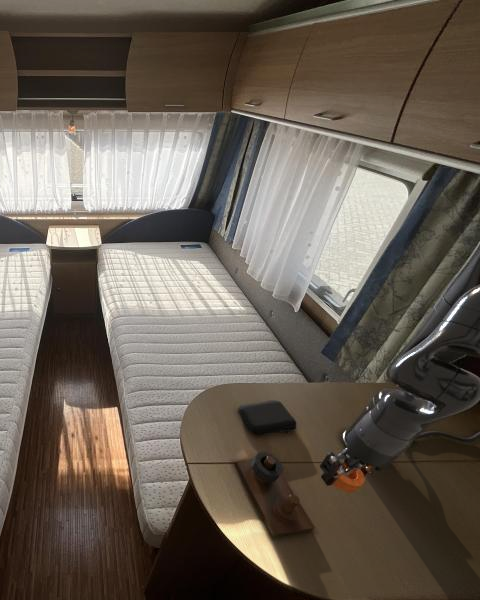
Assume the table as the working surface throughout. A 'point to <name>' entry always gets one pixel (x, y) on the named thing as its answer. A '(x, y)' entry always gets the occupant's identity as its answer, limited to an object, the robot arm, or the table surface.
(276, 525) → the tape rack
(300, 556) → the table surface
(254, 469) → the black tape
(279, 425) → the carrying case
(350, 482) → the orange tape
